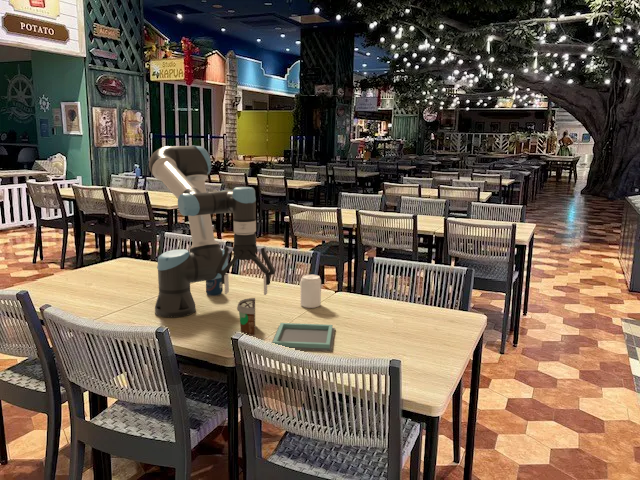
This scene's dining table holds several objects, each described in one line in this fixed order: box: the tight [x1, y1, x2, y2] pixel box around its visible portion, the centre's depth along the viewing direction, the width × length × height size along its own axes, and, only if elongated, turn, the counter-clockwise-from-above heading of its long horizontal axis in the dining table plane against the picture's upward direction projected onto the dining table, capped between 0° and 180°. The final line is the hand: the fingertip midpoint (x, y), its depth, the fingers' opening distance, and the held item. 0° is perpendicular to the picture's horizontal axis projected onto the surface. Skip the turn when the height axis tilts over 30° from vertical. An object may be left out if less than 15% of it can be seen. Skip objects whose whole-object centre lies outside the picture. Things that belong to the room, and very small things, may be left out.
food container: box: [236, 297, 256, 336], centre depth 199 cm, size 12×6×10 cm, turn 5°
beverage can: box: [300, 273, 322, 309], centre depth 226 cm, size 8×8×12 cm
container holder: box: [271, 322, 336, 352], centre depth 192 cm, size 20×20×2 cm
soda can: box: [205, 277, 224, 297], centre depth 240 cm, size 7×7×12 cm
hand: (246, 293), depth 197 cm, fingers open, 13 cm apart
